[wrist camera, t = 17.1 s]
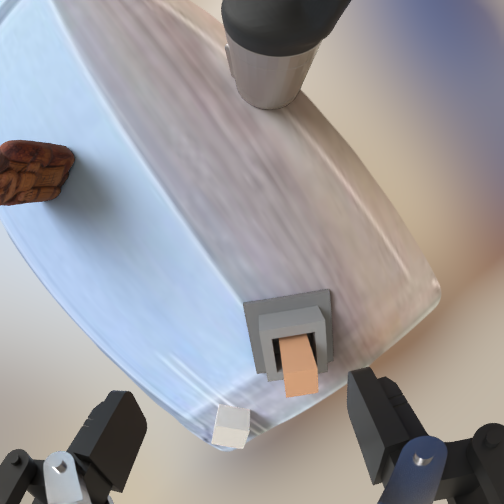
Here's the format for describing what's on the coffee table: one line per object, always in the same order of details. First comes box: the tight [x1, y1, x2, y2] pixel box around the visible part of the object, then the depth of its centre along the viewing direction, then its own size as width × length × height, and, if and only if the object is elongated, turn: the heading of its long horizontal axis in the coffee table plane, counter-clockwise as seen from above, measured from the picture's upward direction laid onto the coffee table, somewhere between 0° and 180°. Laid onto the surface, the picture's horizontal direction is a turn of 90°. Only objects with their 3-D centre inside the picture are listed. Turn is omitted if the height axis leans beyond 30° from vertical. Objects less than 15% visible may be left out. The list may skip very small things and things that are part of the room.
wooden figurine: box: [0, 140, 75, 206], centre depth 29 cm, size 12×6×18 cm, turn 138°
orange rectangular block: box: [279, 334, 318, 398], centre depth 36 cm, size 4×4×12 cm
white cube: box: [211, 404, 250, 449], centre depth 45 cm, size 6×6×6 cm
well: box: [243, 289, 333, 382], centre depth 40 cm, size 13×13×6 cm
